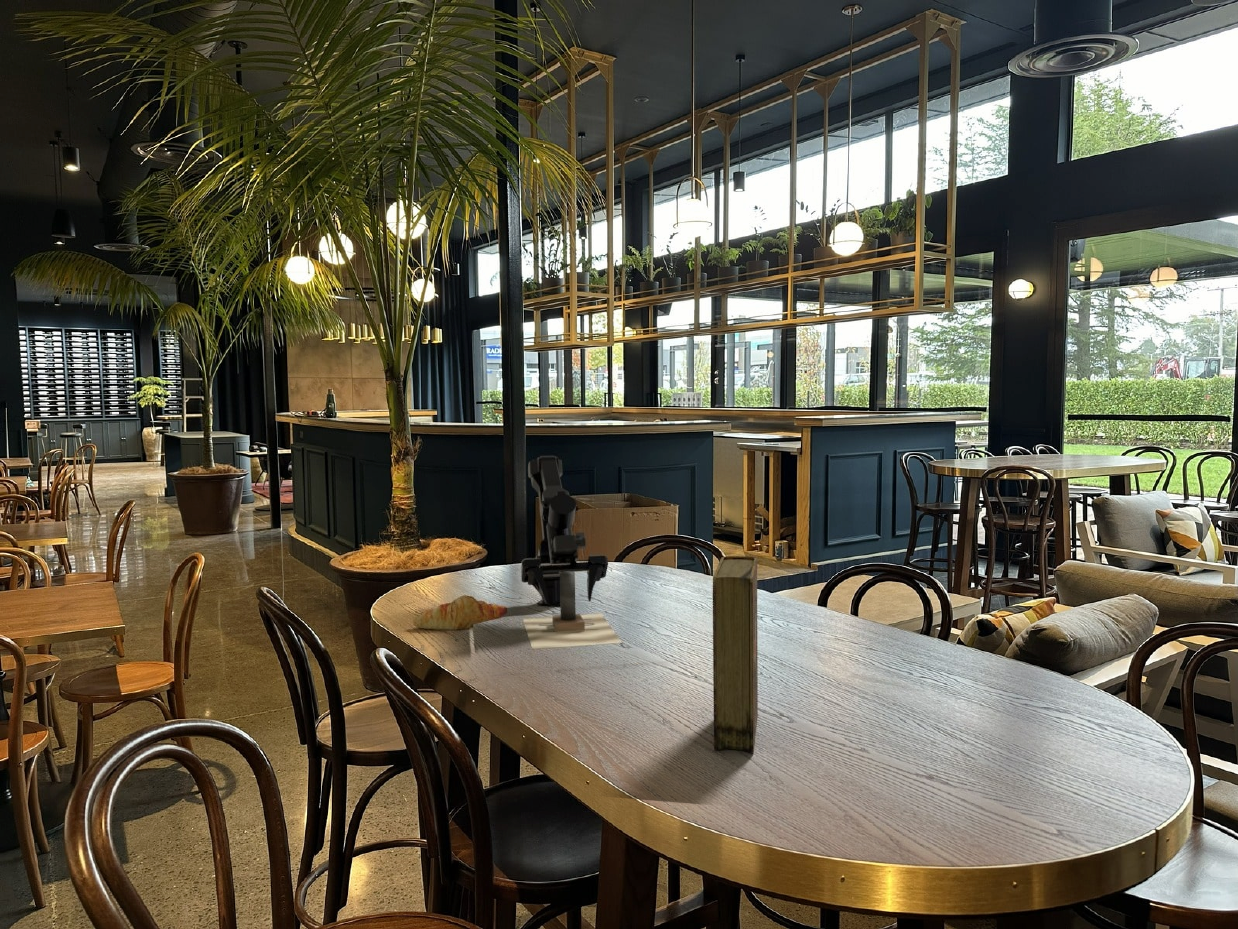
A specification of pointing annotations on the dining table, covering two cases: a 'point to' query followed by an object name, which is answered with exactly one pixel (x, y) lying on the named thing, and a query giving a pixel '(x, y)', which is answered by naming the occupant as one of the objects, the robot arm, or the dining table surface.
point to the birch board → (569, 633)
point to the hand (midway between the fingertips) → (568, 601)
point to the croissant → (459, 614)
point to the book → (735, 653)
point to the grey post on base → (568, 606)
